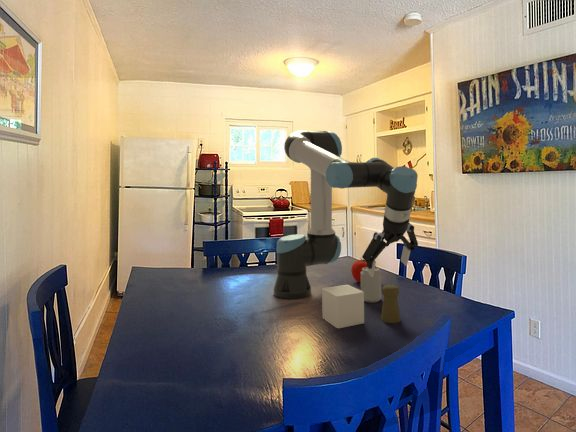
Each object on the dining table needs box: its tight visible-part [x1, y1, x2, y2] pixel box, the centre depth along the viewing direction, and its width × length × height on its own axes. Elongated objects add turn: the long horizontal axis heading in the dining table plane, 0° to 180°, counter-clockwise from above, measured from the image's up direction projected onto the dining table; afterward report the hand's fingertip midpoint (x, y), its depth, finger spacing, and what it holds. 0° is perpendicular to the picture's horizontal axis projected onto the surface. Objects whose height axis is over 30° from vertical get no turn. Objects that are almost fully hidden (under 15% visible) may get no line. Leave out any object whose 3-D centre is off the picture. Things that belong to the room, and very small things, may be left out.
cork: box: [380, 284, 401, 324], centre depth 115 cm, size 6×6×11 cm
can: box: [360, 267, 382, 303], centre depth 135 cm, size 8×8×12 cm
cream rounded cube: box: [321, 284, 365, 329], centre depth 116 cm, size 10×10×10 cm
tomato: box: [350, 257, 377, 284], centre depth 160 cm, size 11×13×10 cm
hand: (387, 268), depth 122 cm, fingers open, 13 cm apart
